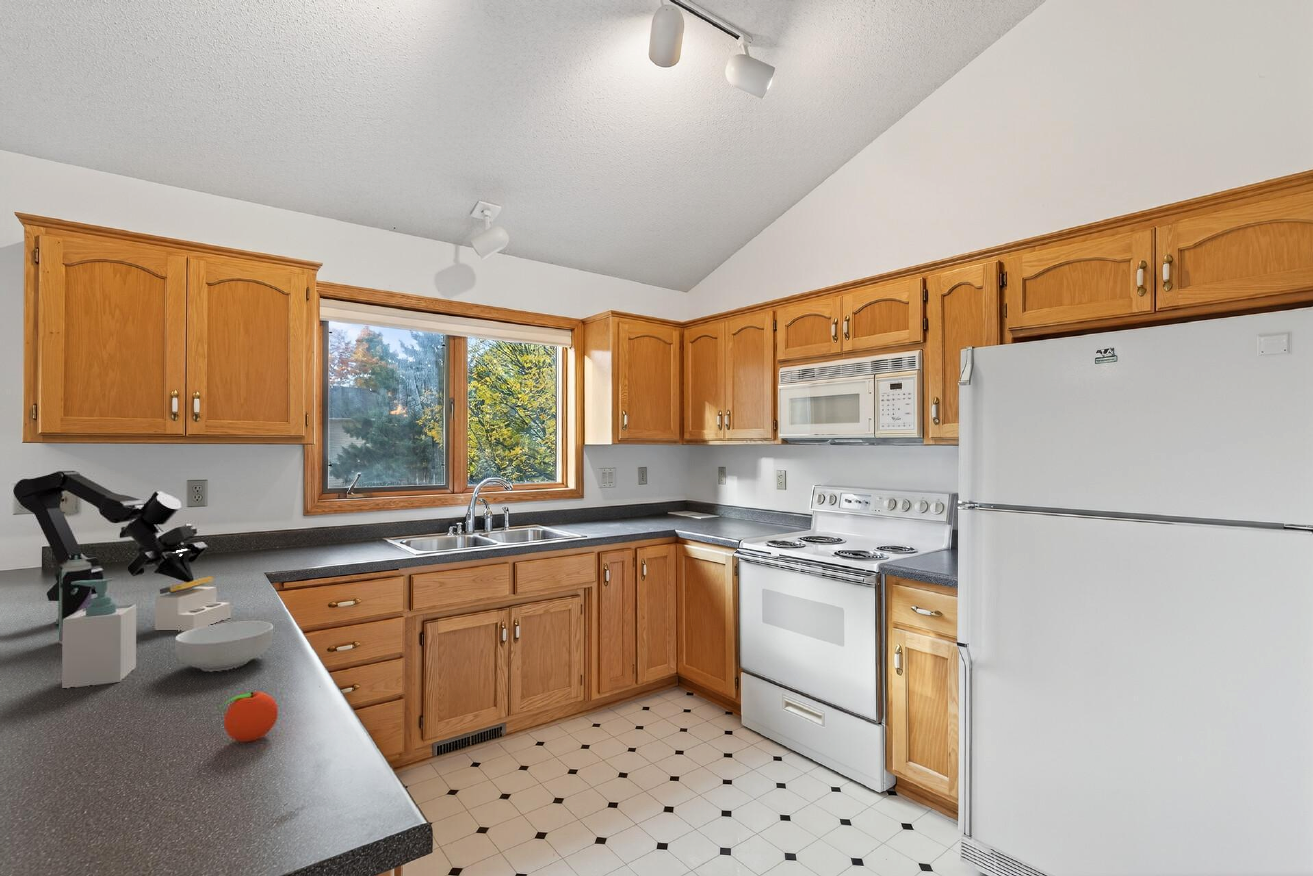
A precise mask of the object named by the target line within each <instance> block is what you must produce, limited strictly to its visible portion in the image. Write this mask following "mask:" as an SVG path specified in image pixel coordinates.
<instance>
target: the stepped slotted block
mask: <svg viewBox="0 0 1313 876" xmlns="http://www.w3.org/2000/svg"><path fill="white" fill-rule="evenodd" d="M217 589H218V588H217V586H198V587H194V588H190V589H187V590H183V591H180V592H176V593H172V594H171V593H170V592H169V593H168V594H167V593H165V594H163V595H159V596H156V597H155V598H154V599H155V600H154V601H155V603H154V604H155V605H154V607H155V609H154V615H155V616H154V631H155V630H178V631H177V632H185V631H188V630H192V629H195V628H200V627H204V626H208V625H210V624H213V625H215V624H214V623H216V622H218V623H220V622H219V621H221V620H224V621H226V620H225V619H227V618H230V619H231V618H232V602H226V601H225V602H222V601H218V602H217V599H218V598H217V596H218V595H217V593H218V592H217ZM227 620H228V619H227ZM221 622H222V621H221ZM216 624H217V623H216ZM180 630H181V631H180Z"/></svg>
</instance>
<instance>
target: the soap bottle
mask: <svg viewBox="0 0 1313 876" xmlns="http://www.w3.org/2000/svg"><path fill="white" fill-rule="evenodd" d="M115 579H116V578H115V577H112V578H103V579H102V580H82V581H75V582H71V584H72V585H74V584H78V585H83V586H90V587H94V586H95V591H96V592H97V595H96V596H95V597H91V605H88V606H87V607H86V608H84V609H81V610H80V611H78V612H76V613H74V614H72V615H70V616H68V617H67V618H65V619H63V640H62V644H61V646H62V652H61V655H62V658H61V659H62V660H61V661H62V662H61V666H62V668H61V688H67V689H71V688H70V687H75V688H82V687H91V686H90V685H92V686H99V685H106V684H115V683H116V682H117V683H120V682H121V681H123V680H122V679H125V678H126V677H127V676H128V675H129V674H131V671H132V670H133V671H134V670H135V669H136V667H137V605H136V604H134V603H133V604H124V605H117V603H116V602H114V601H112V596H111V595H106V592H107V590H108V582H111V581H114V580H115ZM133 671H132V672H133Z"/></svg>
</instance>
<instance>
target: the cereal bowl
mask: <svg viewBox="0 0 1313 876" xmlns="http://www.w3.org/2000/svg"><path fill="white" fill-rule="evenodd" d="M273 638H274V625H273V624H272V623H270V622H267V621H259V620H244V621H233V622H223V623H216V624H213V625H209V626H204V627H200V628H195V629H192V630H188V631H182V632H180V633H179V634H177V635H176V636H175V638H174V651H175V655H176V657H177V659H178V660H179V661H180V662H181V663H182V664H184V665H186V666H189V667H191V668H192V667H193V668H196V669H200V670H201V671H203V672H207V671H209V672H210V673H214V672H213V671H218V672H222V671H221V670H226V671H230V670H229V669H231V670H233V669H232V668H235V669H237V667H238V668H240V667H239V666H241V667H243V666H244V664H245V665H246V664H247V663H248V662H250V661H251V660H254V659H256V658H258V657H259V656H261V655H262V654H264V653H265V652H266V651H267V650H268V648H269V647H270V646H271V644H272V642H273ZM242 665H243V666H242ZM209 672H208V673H209Z"/></svg>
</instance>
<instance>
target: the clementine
mask: <svg viewBox="0 0 1313 876" xmlns="http://www.w3.org/2000/svg"><path fill="white" fill-rule="evenodd" d="M232 701H233V702H232ZM230 702H232V703H231V704H230V705H229V707H228V708H227V710H226V712H225V715H224V721H223V725H224V730H225V732H226V733H227V735H228V736H229V737H231V738H232V739H233V740H236V741H238V742H243V743H245V742H246V743H247V742H253V741H256V740H259V739H261V738H262V737H264V736H265V735H267V734H268V733H269V732H270V731H271V730H272V728H273V727H274V726H275V723H276V722H277V719H278V714H279V710H278V704H277V702H276V701H275V699H274V698H273V697H272V696H271V695H270V694H267V693H265V692H262V691H254V692H253V691H252V692H248V693H243V694H239V695H236V696H234V697H231V698H229V699H228V700H226V702H224V703H223V704H222V705H221V706H220V707H219V709H218V710H217V712H216V714H215V716H217V715H218V713H219V712H220V711H219V710H220V709H221V708H223V706H224V705H226V704H227V703H230Z"/></svg>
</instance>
